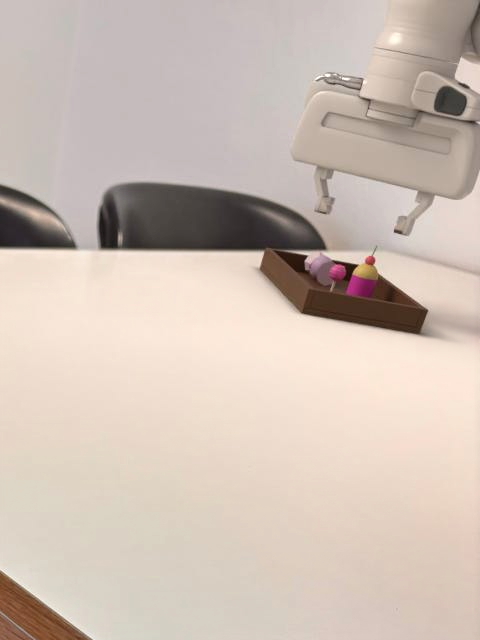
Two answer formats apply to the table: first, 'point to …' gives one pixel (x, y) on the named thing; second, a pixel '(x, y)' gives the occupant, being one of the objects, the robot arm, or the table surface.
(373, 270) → the candy
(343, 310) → the tray
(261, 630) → the table surface
